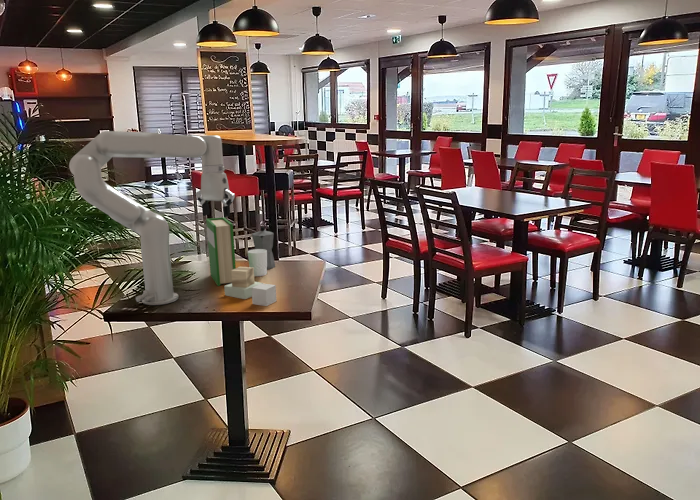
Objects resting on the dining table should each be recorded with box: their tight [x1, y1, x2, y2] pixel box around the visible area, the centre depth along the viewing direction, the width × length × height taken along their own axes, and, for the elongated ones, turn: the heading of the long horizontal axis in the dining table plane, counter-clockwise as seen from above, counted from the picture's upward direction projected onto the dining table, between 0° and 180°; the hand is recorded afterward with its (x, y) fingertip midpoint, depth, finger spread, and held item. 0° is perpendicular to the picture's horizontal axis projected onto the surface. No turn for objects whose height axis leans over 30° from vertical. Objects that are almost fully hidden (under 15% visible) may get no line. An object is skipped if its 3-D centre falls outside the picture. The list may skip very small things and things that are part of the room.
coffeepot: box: [251, 226, 276, 270], centre depth 249 cm, size 15×9×18 cm, turn 4°
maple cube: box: [231, 266, 256, 287], centre depth 210 cm, size 6×6×6 cm
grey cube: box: [251, 282, 277, 307], centre depth 200 cm, size 6×6×6 cm
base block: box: [223, 281, 262, 300], centre depth 211 cm, size 10×10×4 cm
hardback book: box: [205, 216, 237, 287], centre depth 229 cm, size 18×7×24 cm, turn 22°
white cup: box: [247, 248, 268, 277], centre depth 237 cm, size 8×8×10 cm
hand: (216, 215), depth 212 cm, fingers open, 9 cm apart
